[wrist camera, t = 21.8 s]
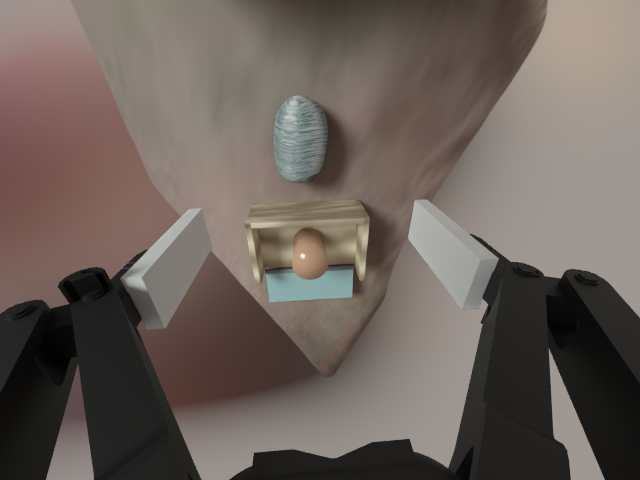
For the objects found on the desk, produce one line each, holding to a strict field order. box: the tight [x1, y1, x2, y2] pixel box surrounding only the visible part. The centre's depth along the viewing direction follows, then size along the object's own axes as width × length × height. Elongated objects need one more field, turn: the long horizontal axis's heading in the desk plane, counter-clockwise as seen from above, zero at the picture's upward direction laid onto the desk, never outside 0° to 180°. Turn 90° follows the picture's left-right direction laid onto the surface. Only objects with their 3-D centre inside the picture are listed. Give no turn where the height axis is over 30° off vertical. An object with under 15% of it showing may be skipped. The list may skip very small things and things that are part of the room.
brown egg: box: [292, 227, 328, 280], centre depth 49 cm, size 6×6×9 cm
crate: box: [245, 200, 370, 286], centre depth 51 cm, size 14×22×9 cm, turn 91°
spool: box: [274, 96, 328, 183], centre depth 42 cm, size 14×10×10 cm
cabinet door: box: [265, 265, 354, 302], centre depth 58 cm, size 1×20×9 cm
